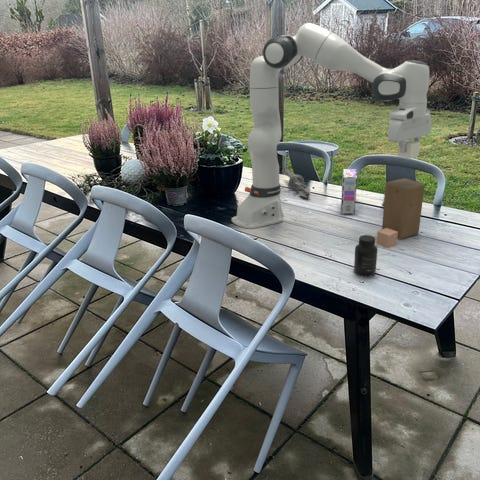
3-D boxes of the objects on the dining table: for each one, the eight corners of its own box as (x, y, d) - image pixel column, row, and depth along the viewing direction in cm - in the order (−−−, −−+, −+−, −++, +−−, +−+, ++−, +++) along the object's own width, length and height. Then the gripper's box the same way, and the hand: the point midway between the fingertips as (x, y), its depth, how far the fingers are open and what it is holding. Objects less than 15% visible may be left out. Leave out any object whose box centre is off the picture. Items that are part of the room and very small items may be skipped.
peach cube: (387, 248, 166) (389, 235, 164) (376, 244, 170) (377, 231, 168) (396, 244, 169) (398, 231, 167) (385, 240, 172) (386, 227, 170)
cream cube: (409, 158, 163) (411, 144, 161) (397, 156, 167) (398, 142, 165) (418, 156, 166) (419, 142, 164) (406, 153, 169) (407, 140, 167)
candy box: (355, 215, 197) (357, 177, 191) (340, 214, 199) (342, 176, 192) (354, 204, 210) (356, 168, 203) (341, 203, 211) (342, 168, 204)
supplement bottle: (350, 268, 153) (353, 234, 148) (371, 266, 154) (374, 232, 149) (357, 277, 147) (359, 242, 142) (378, 276, 147) (381, 241, 142)
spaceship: (295, 165, 246) (281, 160, 243) (319, 190, 216) (304, 186, 213) (289, 178, 249) (276, 174, 246) (312, 205, 219) (297, 201, 216)
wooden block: (399, 240, 172) (405, 188, 164) (380, 231, 180) (384, 181, 172) (419, 234, 176) (426, 183, 168) (399, 226, 184) (405, 177, 176)
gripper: (422, 106, 168) (418, 144, 173) (386, 113, 157) (382, 154, 162) (438, 107, 163) (433, 147, 169) (402, 115, 152) (398, 157, 158)
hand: (408, 150), depth 165 cm, fingers closed on cream cube, 5 cm apart
